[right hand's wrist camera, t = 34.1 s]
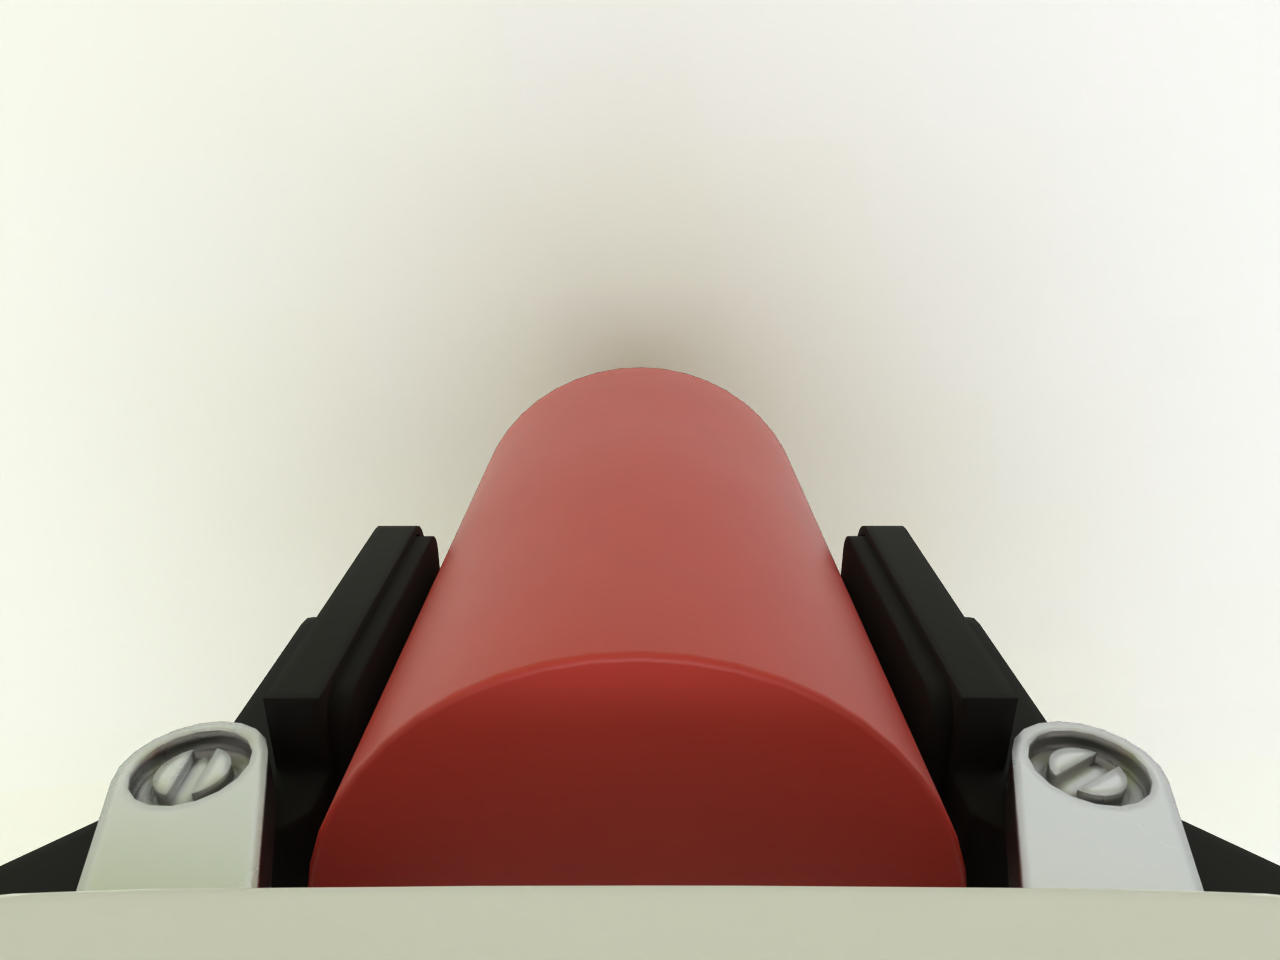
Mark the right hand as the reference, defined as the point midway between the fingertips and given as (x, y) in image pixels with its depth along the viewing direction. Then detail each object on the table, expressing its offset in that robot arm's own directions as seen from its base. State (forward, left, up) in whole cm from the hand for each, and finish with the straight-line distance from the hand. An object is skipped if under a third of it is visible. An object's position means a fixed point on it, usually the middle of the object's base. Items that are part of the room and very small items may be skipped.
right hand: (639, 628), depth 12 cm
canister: (0, 0, -3) cm, 3 cm away
